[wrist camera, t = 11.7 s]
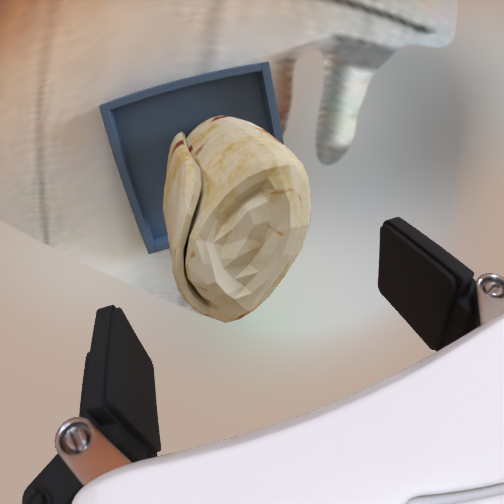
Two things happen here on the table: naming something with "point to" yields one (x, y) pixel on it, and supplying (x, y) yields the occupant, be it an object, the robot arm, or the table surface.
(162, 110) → the serving tray
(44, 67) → the table surface
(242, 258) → the food model
